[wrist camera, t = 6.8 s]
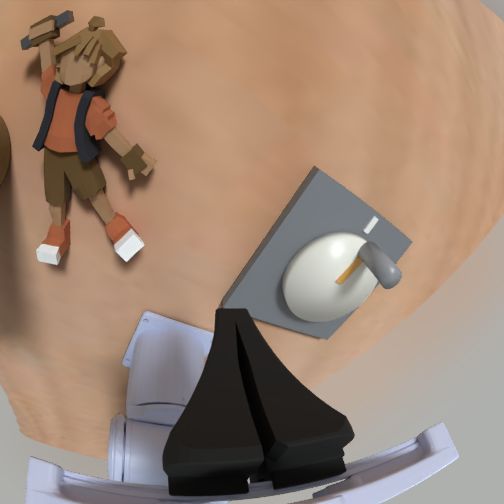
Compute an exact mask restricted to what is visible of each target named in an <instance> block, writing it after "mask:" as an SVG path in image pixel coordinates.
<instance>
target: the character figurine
mask: <svg viewBox="0 0 504 504" xmlns="http://www.w3.org/2000/svg"><path fill="white" fill-rule="evenodd" d="M72 22H74V17H73V11H68V10H67V11H65V12H64V13H62V14H60V15H58V16H53V15H50V16H48V17H46V18H44V19H42V20H41V21H39V22H37V23H35V24H34V25H32V26H30V30H29V35H28V36H26V37H25V38H23V39H22V40H21V47H22V50H28V49H29V48H31V47H38V46H39V48H40V58H41V68H42V75H41V82H42V85H41V92H42V94H43V95H44V97H45V98H46V99H47V102H46V108H45V115H44V118H43V121H42V124H41V127H40V130H39V133H38V135H37V137H36V139H35V141H34V144H33V146H32V147H34V148H35V149H36V150H37V151H40V150H41V149H43V148H44V147H45V150H44V187H45V196H46V201H47V202H48V203H50V206H49V210H50V213H51V216H52V219H53V223H52V224H51V226H50V229H49V232H48V236H47V238H46V239H45V240H44V241H43V242H42V244H41V245H40V247H39V248H38V249H37V250H36V253H37V258H38V261H41V262H45V263H50V264H55V265H58V263H59V261H60V258H61V256H62V255H63V254H64V253H65V252H66V250H67V249H68V247H69V245H70V220H68V219H65V215H66V202H67V201H68V200H69V198H70V194H71V185H72V187H73V189H74V191H75V192H76V193H77V195H78V196H79V197H80V199H81V200H85V199H87V198H89V199H90V201H91V204H92V205H93V207H94V208H95V209H96V211H97V212H98V214H99V215H100V216H101V218H102V219H103V221H104V222H105V228H106V231H107V234H108V236H109V237H110V238H111V239H112V241H113V243H114V247H115V251H116V252H117V253H118V254H119V255H120V256H121V257H122V258H123V259H124V260H125V261H126V262H127V261H128V260H129V259H130V258H131V257H132V256H133V255H134V254H135V253H136V252H137V251H139V250H140V249H141V248H142V247H143V246H144V243H143V241H142V239H141V238H140V237H139V235H138V233H137V232H136V231H135V229H134V228H133V227H132V226H131V225H130V223H129V222H128V221H127V220H126V219H125V217H124V216H122V215H120V214H119V213H117V212H116V213H114V211H113V210H112V207H111V205H110V203H109V201H108V199H107V197H106V195H105V194H104V192H103V187H104V186H105V184H106V180H105V178H104V175H103V173H102V170H101V168H100V166H99V165H98V163H97V161H96V159H95V156H96V155H97V154H98V153H99V152H100V150H101V147H100V144H99V141H98V139H102V138H104V139H105V140H106V141H107V143H108V144H109V145H110V146H111V147H112V148H113V149H114V150H115V151H116V152H117V153H118V154H120V155H121V156H122V157H121V159H120V161H121V162H122V163H123V164H124V166H125V167H126V168H127V169H128V175H129V180H133V179H136V178H135V175H136V174H137V173H139V172H141V173H143V174H144V175H146V176H147V175H148V173H149V172H150V171H151V169H152V168H153V167H154V166H155V163H156V161H157V160H155V159H154V158H152V157H151V156H150V155H148V154H147V153H144V151H143V150H142V149H141V148H140V146H139V145H138V144H136V145H135V146H134V147H132V146H131V144H130V143H129V142H128V141H127V140H126V139H125V138H124V137H123V135H122V134H121V133H120V132H119V131H118V130H117V128H116V127H115V126H116V125H117V121H116V117H115V113H114V112H113V111H112V110H110V105H109V104H108V103H107V102H106V101H105V100H104V96H105V94H104V91H103V90H101V89H98V88H95V86H99V85H102V84H104V83H105V82H106V81H107V80H108V79H109V78H110V77H111V76H112V75H114V73H115V72H116V71H117V69H118V68H119V67H120V61H121V58H122V57H123V56H124V55H125V54H127V51H126V50H125V48H124V47H123V46H122V44H121V43H120V41H119V40H118V39H117V37H116V36H115V34H114V33H113V31H112V30H99V29H97V28H98V27H105V21H104V18H101V17H96V16H94V17H93V18H92V19H91V20H90V21H89V22H88V24H89V27H86V28H85V29H83V30H82V31H80V32H79V33H77V34H76V35H74V36H73V37H71V38H70V39H68V40H67V41H65V42H64V43H62V44H60V45H58V46H56V47H54V39H56V38H58V37H60V30H59V29H61V28H63V27H64V26H66V25H68V24H70V23H72ZM60 54H61V55H60ZM58 55H60V56H59V57H58V59H57V60H56V58H55V56H58ZM86 83H88V84H89V85H90V86H87V85H86Z"/></svg>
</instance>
